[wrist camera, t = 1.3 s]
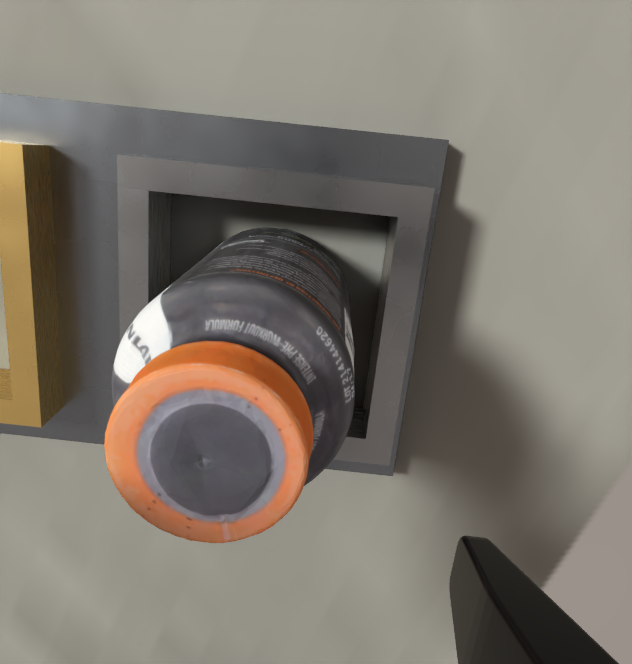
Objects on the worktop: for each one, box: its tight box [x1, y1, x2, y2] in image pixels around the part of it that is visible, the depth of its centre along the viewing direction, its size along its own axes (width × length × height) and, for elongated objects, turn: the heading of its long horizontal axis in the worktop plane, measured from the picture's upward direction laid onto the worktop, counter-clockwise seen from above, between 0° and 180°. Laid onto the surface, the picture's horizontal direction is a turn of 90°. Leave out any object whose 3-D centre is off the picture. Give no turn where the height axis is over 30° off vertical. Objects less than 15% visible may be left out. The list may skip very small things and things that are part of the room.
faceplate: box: [0, 93, 449, 476], centre depth 20 cm, size 13×24×2 cm, turn 84°
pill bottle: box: [105, 228, 355, 543], centre depth 16 cm, size 6×6×11 cm
